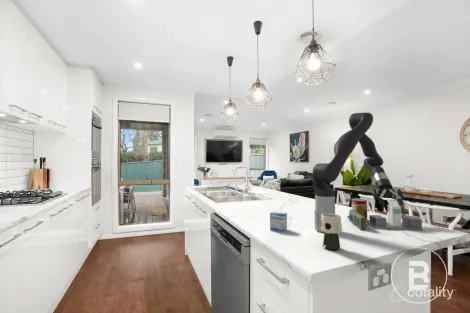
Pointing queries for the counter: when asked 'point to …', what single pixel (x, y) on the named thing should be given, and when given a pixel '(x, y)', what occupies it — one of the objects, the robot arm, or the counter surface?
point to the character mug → (331, 230)
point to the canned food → (360, 206)
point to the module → (394, 215)
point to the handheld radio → (357, 219)
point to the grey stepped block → (406, 224)
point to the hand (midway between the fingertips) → (392, 205)
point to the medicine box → (278, 221)
